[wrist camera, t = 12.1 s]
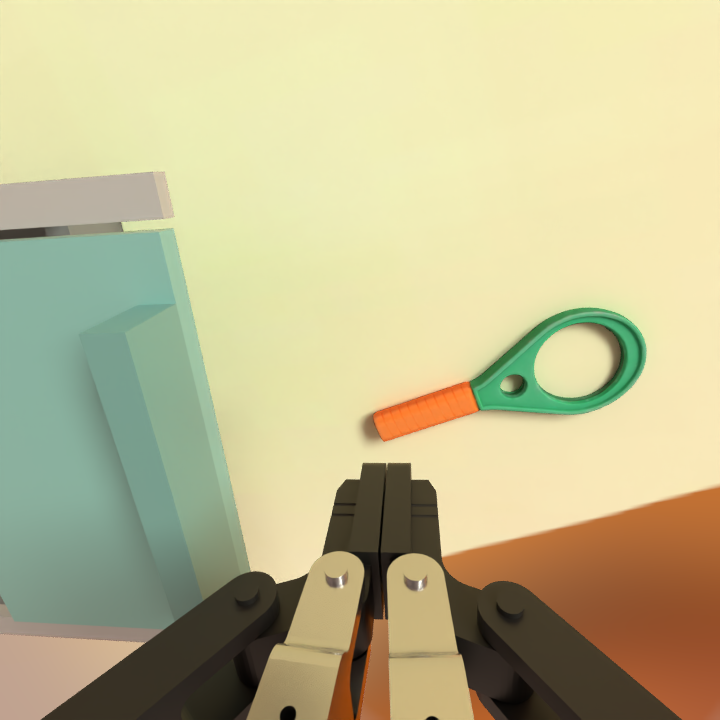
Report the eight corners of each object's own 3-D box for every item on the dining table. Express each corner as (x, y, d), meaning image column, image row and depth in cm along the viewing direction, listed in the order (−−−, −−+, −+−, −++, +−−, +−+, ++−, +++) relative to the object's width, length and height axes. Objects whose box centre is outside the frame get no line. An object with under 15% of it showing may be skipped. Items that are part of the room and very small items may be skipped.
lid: (-152, 249, 14) (-307, 271, 11) (173, 228, 13) (99, 246, 10) (28, 605, 20) (-38, 681, 17) (260, 616, 19) (232, 701, 16)
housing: (-75, 199, 25) (-436, 220, 14) (274, 171, 22) (152, 171, 12) (42, 476, 32) (-139, 626, 22) (315, 478, 30) (263, 649, 19)
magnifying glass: (625, 286, 23) (640, 295, 22) (645, 383, 25) (661, 397, 24) (360, 378, 27) (358, 391, 25) (397, 456, 29) (396, 472, 27)
